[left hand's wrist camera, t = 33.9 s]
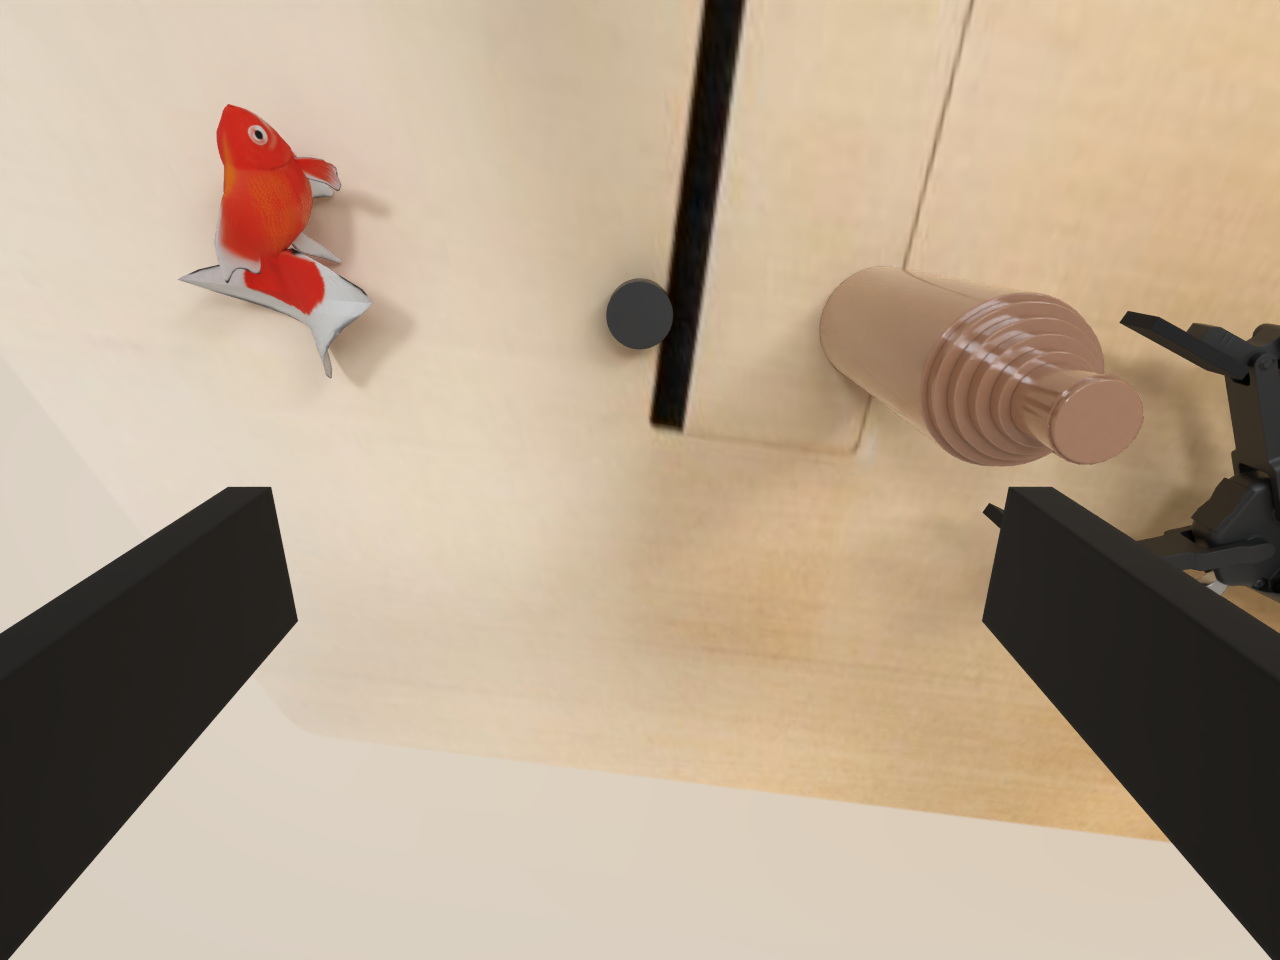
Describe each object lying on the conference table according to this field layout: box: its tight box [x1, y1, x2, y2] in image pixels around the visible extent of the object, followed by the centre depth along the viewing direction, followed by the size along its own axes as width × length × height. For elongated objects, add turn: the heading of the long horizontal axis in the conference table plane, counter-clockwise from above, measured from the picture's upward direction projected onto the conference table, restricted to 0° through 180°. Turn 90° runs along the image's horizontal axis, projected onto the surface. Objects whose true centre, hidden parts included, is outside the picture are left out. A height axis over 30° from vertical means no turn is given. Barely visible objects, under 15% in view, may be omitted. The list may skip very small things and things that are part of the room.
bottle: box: [820, 266, 1144, 466], centre depth 36 cm, size 8×8×25 cm
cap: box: [607, 279, 673, 349], centre depth 46 cm, size 4×4×2 cm
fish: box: [178, 104, 373, 378], centre depth 42 cm, size 11×16×10 cm
